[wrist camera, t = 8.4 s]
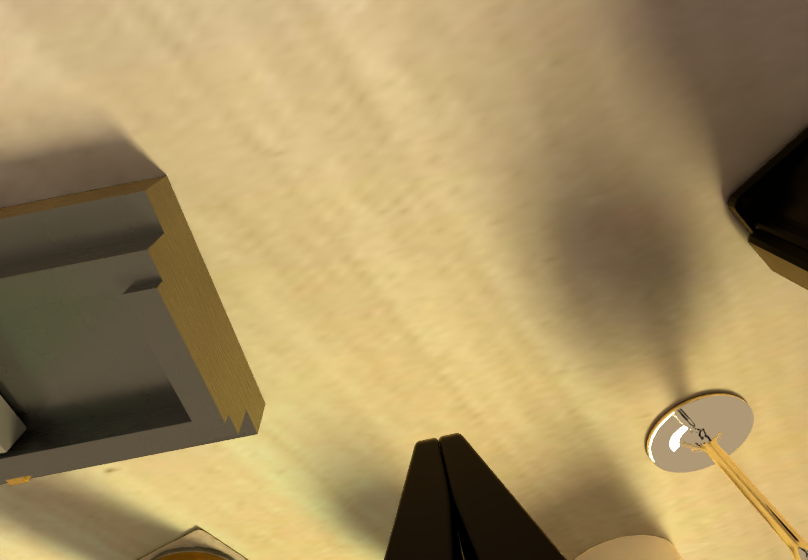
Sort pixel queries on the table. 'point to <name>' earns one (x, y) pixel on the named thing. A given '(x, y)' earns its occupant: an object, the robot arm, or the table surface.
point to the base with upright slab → (632, 549)
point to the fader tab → (9, 426)
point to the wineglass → (716, 452)
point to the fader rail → (113, 334)
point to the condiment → (194, 549)
